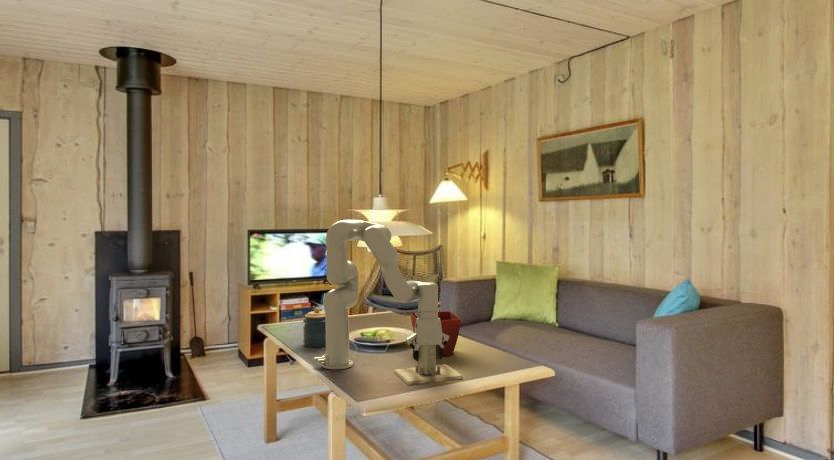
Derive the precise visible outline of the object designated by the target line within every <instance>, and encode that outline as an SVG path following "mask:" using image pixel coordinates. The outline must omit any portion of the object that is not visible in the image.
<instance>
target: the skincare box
mask: <svg viewBox="0 0 834 460" xmlns="http://www.w3.org/2000/svg"><path fill="white" fill-rule="evenodd" d="M417 350H418V361H417V365H418V373H420V368H423V374H426V375H427V374H430V373H431V369H434V371H436V365H437V362H436V361H437V356H436V345H428V343H425V346H419V348H418V349H417Z"/></svg>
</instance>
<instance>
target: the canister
mask: <svg viewBox="0 0 834 460" xmlns="http://www.w3.org/2000/svg"><path fill="white" fill-rule="evenodd" d="M304 317H305V318H304V319H302V321H303V327H302V329H303V339H302V342H303V346H304V347H305V348H306V347H307V348H311V349H312V348H313V349H314V348H326V321H325V311H322V310H320V308H319V307H315V308H314V311H309V312H307V313H306V314H304Z"/></svg>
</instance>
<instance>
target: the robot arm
mask: <svg viewBox="0 0 834 460" xmlns="http://www.w3.org/2000/svg"><path fill="white" fill-rule="evenodd" d="M326 232H327V233H326V235H325V249H326V255H325V257H326V263H325V265H326V266H325V268H326V269H325V271H326V280H327V281H328V283H329V284H330V285H331V286H332V285H333V286H337V287H336V288H332V289H330V290H329V291H327V292H326V293H325V295H324V297H323V301H322V304H323V305H322V306H323V310H324V312H325V321H326V346H325V353H324V354H323V355H321V356H314V357H313V362H314V363H318V364H319V363H321V367H322V368H324V369H328V370H344V369H349V368H352V367H353V365H354V362H353V360H351V359H350V320H349V319H350V318H349V314H348V311H347V310H348V309H351V308H353V307H354V306H356V304H357V303H358V301H359V271H358V270H359V269H358V267H357V265H356V264H355V263H354V262H353V261H351V260H348V248H347V245H346V243H347V242H349V241H351V242H352V241H361V242H364V243H365V244H366V246H367V248H368V250H369V251H370V252H371V254H372V255H373V257H374V258H375V260H376V262H377V263H378V265H379V266H380V270H381V274H382V278H383V280H384V283H385V285H386V287H387V288H388V290H389V291H390V293H391V294H392V296H393V297H394V298H395V300H397V301H398V302H400V303H405V304H406V303H409V302H411V301H415V300H418V301H417V303H418V304H417V308H418V310H417V312H416V311H415V312H414V313H415V316H418V318H417V320H416V325H415V334H414V333H413V334H412V335H410V336H408V337H407V338H406V339H405V341H406V343H407V345H408V346H409V347H410V348H411V349H412V359H413V360H415V362H418V348H419V346H425V343H428V345H438V347H437V356H436V358H438V359H439V360H442V358H443V357H444V356H443V348H444V346H445V345H446V344H447V341H448V339H449V336H448V335H446V334H444V333H442V327H441V321H440V318H438V312H439V285H438V284H437V283H436V282H433V281H426V282H424V281H423V282H422V281H417V280H406V278H405V277H404V276H403V274H402V272H401V271H400V268H399V261H400V254H399V253H398V251H397V249H396V248H395V247H394V245H393V244H392V243H391V240H392V232H391V230H390V229H389V228H388V227H387V226H386V225H383V224H378V223H373V222H369V221H365V220H361V219H343V220H338V221H336V222H334V223H333V224H332V225H331V226H330V227H329V228H328V230H327V231H326ZM442 336H443V337H444V340H443V341H442ZM412 341H414V344H413V342H412Z"/></svg>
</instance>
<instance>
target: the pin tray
mask: <svg viewBox="0 0 834 460" xmlns="http://www.w3.org/2000/svg"><path fill="white" fill-rule="evenodd" d="M394 374H395V375H397V376H398V378H399V379H400V380H402V381H403V382H404V383H405V384H406V385H407V386H410V385H418V384H426V383H435V382H444V381H455V380H461V379H462V380H463V379H464V378H463V376H464V375H462V374H461V373H460V372H459V371H457V370H456V369H454V368H452V367H450V366H449V365H448V364H445V363H443V364H436V371H434V369H431V373H430V374H427V375H426V374H423V368H420V373H418V364H415V366H414V367H406V368H397V369H394Z"/></svg>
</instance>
